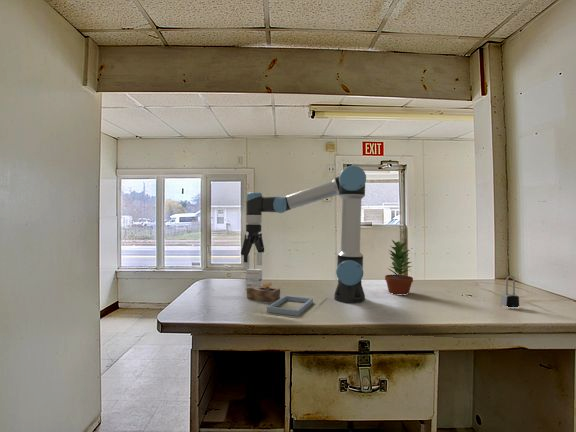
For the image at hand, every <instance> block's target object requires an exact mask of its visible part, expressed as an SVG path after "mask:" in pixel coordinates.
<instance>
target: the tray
mask: <svg viewBox="0 0 576 432" xmlns="http://www.w3.org/2000/svg"><path fill="white" fill-rule="evenodd" d="M286 301H287V302H288V301H289V302H295V303H296V302H297V303H303V304H302V305H301V306H300V307H299V308H297V309H293V308H284V307H280V305H282V304H283V303H285V302H286ZM313 304H314V298H310V297H303V296H302V297H301V296H292V295H284V296H282V297H280V299H279V300H277V301H275V302H274V303H270V304H269V305H268V306H266V312H267V313H269V315H272V316H273V314H271V313H274V314H277V316H280V315H279V314H281V315H288V316H291V318H293V319H294V318H295V317H296V316H297V317H300V315H301V314H302V313H303V312H304V311H305V310H307V309H308V308H309V307H310V306H311V305H313ZM278 306H279V307H278ZM288 316H284V317H287V318H288ZM292 316H295V317H292Z"/></svg>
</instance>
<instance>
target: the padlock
mask: <svg viewBox="0 0 576 432" xmlns="http://www.w3.org/2000/svg"><path fill="white" fill-rule="evenodd" d="M505 278H506V279H505V293H502V294H501V296H500V305H501V304H502V305H504V306H508V307H518V306H520V296H519V295H516V293H515V292H516V291H515V290H516V281H515V277H514V276H513V275H509V276H507V277H505ZM509 278H510V279H511V278H512V293H509V292H508V291H509V290H508V288H509V285H508V283H509Z"/></svg>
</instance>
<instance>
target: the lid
mask: <svg viewBox="0 0 576 432" xmlns="http://www.w3.org/2000/svg"><path fill="white" fill-rule="evenodd" d="M272 285H273V284H272V282H269V281H267V282H265V283H262V287H265V290H269V288H270V287H271V286H272ZM253 302H256V303H259V304H272V303H273V302H265V301H257V300H254V299H253Z"/></svg>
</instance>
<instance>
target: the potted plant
mask: <svg viewBox="0 0 576 432" xmlns="http://www.w3.org/2000/svg"><path fill="white" fill-rule="evenodd" d="M391 241H392V243H393V244H394V246H392V245H390V247H391V248H392V250H393V251H392V250H390V249H388V251H389V252H390V253H389V252H388V254H389V255H390V256H389V257H390V259H391V260H392V261H391V265H392V266H391V265H390V266H389V267H390V268H391V269H390V268H388V270H389V271H390V272H392V273H393V274H386V275H385V276H384V280H385V282H386V286H387V289H388V293H389V292H390V293H393V294H392V295H394V294H407V293H410V291H411V287H412V284H413V282H414V277H412V276H409V275H404V273H405V272H409V269H408V268H412V267H413V265H412V266H411V265H409V264H411V263H412V261H408V260H410V257H407V256H409V254H410V252H409V251H410V249H407V250H406V249H404V247H405V245H406V244H407V242H401V241H400V240H398V241H394V240H393V239H391ZM407 261H408V262H407ZM407 265H408V266H407ZM392 269H393V270H392ZM390 293H389V294H390Z"/></svg>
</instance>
